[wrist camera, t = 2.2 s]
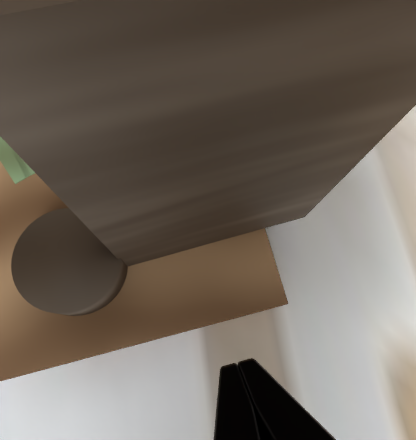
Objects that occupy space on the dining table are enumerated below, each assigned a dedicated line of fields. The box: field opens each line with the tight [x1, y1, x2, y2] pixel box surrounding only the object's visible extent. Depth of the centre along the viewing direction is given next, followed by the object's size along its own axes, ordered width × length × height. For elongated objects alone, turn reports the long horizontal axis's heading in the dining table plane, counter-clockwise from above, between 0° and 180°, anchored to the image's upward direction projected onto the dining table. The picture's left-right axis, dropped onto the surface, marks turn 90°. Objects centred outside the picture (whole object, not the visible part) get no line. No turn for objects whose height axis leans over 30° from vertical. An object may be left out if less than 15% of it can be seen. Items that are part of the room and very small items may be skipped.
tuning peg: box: [0, 0, 416, 316], centre depth 12 cm, size 9×13×14 cm
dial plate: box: [0, 137, 288, 381], centre depth 19 cm, size 13×14×2 cm
